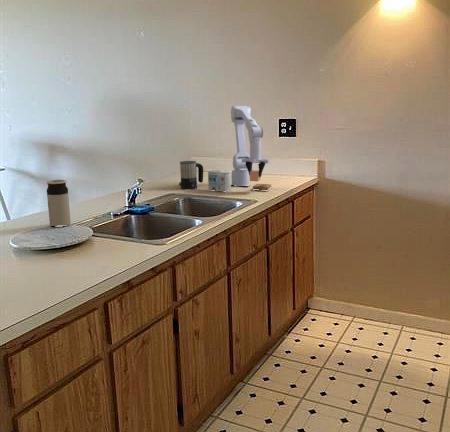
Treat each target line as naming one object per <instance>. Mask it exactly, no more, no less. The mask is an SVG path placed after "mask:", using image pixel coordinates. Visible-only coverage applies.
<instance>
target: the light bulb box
mask: <svg viewBox="0 0 450 432" xmlns="http://www.w3.org/2000/svg"><path fill="white" fill-rule="evenodd" d="M207 174H208V175H207V177H208V178H207V181H208V183H207V186H208V188H207V189H208V190H215V191H228V190H231V191H232V186H231V185H232V171H231V170H222V169H221V170H220V169H212V170H209V171H207ZM215 191H214V192H215ZM228 192H229V191H228Z"/></svg>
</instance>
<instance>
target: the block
mask: <svg viewBox="0 0 450 432" xmlns="http://www.w3.org/2000/svg"><path fill="white" fill-rule="evenodd" d="M261 179H262V176H261V177H259V169H258V170H257V169H252V171H250V177H249V182H259V181H261Z"/></svg>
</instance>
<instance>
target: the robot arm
mask: <svg viewBox="0 0 450 432" xmlns="http://www.w3.org/2000/svg"><path fill="white" fill-rule="evenodd" d="M251 112H252V109H251V107H250V106H249V105H233V106H232V107H231V109H230V116H231V117H230V118H231V122H232V123H233V124H234V127H235V128H234V129H235V139H236V153H235V154H234V155H233V158H232V167H233V169H232V171H231V185H238V186H237V187H239V186H246V185H249V184H250V171H252V170H253V163H255V164H256V163H257V164H258V170H259V177H261V178H262V175H263V171H264V168H265V166H266V164H270V159H268V158H262V138H263V136H264V129H263V127H262V126H260V125H259V124H258V123H257V122H256V120H255V119H254V118H252V116H251ZM245 128H246V130H247V131H248V132H247V133H248V141H249V153H248V152H247V148H246V147H247V146H246V137H245Z"/></svg>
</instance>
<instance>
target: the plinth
mask: <svg viewBox="0 0 450 432" xmlns="http://www.w3.org/2000/svg"><path fill="white" fill-rule="evenodd" d="M270 187H271V188H272V184H270V183H255V184H254V185H252V190H253V189H259V190H268V189H269V188H270Z"/></svg>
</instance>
